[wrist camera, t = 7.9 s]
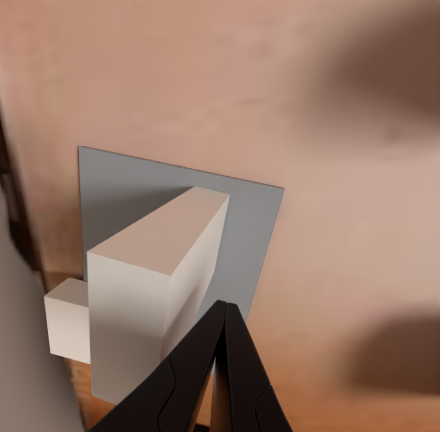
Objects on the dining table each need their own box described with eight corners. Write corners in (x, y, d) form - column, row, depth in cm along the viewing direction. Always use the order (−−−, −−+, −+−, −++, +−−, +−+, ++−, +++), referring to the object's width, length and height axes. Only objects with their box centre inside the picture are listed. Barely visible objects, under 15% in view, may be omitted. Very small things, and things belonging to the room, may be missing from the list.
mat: (229, 373, 21) (229, 379, 20) (89, 336, 22) (86, 340, 21) (283, 187, 14) (284, 189, 14) (83, 146, 15) (78, 146, 15)
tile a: (158, 383, 18) (50, 353, 19) (169, 355, 20) (73, 329, 21) (166, 328, 16) (44, 296, 17) (177, 303, 18) (69, 276, 19)
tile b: (214, 271, 17) (152, 419, 8) (182, 262, 17) (89, 394, 8) (230, 194, 14) (171, 276, 6) (193, 185, 15) (83, 250, 6)
